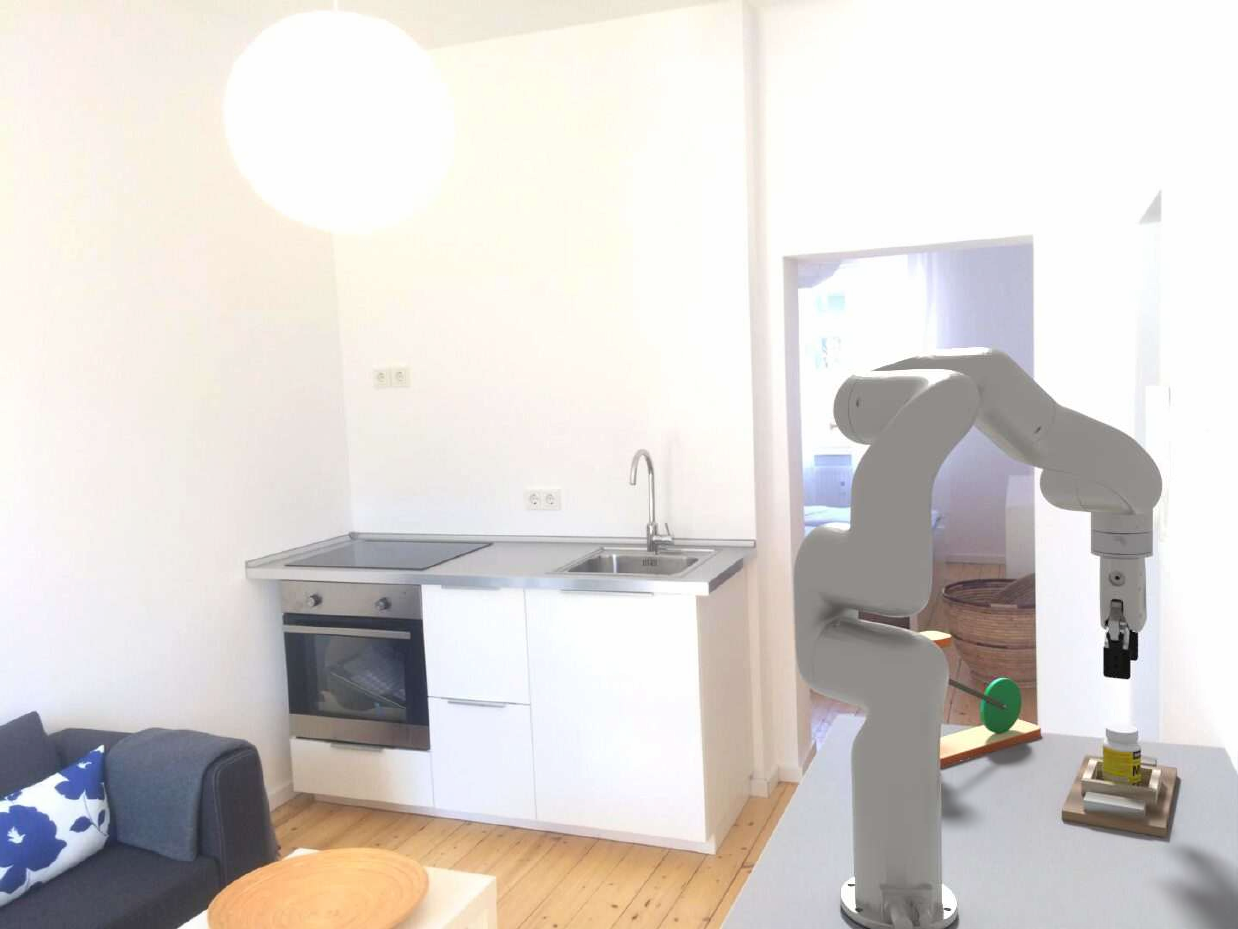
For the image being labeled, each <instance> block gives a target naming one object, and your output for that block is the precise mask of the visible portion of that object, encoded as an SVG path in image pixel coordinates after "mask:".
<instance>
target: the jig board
mask: <svg viewBox="0 0 1238 929" xmlns="http://www.w3.org/2000/svg"><path fill="white" fill-rule="evenodd" d="M1177 778H1178V767H1175V766H1174V767H1173V766H1168V765H1167V766H1166V765H1160V764H1158V757H1157V756H1152V755H1146V754H1145V755H1144V754H1141V786H1134V785H1128V784H1122V783H1115V782H1109V781H1103V751H1102V752H1101V754H1100V756H1098V755H1092V754H1085V756H1084V758H1083V760H1082V763H1081V765H1080V767H1079V769H1078V772H1077V774H1076V777H1075V779H1074V781H1073V783H1072V785H1071V788H1070V791H1069V793H1068V795H1067V796H1066V800H1065V802H1064V804H1063V807H1062V808H1061V820H1064V821H1071V822H1075V823H1082V824H1087V825H1092V826H1097V827H1102V828H1109V829H1115V830H1120V831H1121V830H1122V831H1126V832H1133V833H1137V834H1138V833H1139V834H1144V835H1148V834H1149V836H1154V837H1155V836H1156V837H1161V838H1165V837H1166V835H1167V834H1166V833H1167V829H1168V824H1169V818H1170V814H1171V808H1172V804H1173V798H1174V794H1175V787H1176V783H1177Z"/></svg>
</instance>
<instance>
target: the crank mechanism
mask: <svg viewBox="0 0 1238 929" xmlns="http://www.w3.org/2000/svg"><path fill="white" fill-rule="evenodd" d="M918 633H919V634H922V635H924V636H926V637H928V638H929V639H931V640H932V641H933V642H935V643H936V644H937V645H938V646H939V647H940V648H941V649H943V648H947V647H950V646H951V645H952V634H949V633H945V632H942V631H938V630H925V631H921V632H918ZM948 686H952V687H954V688H956V689H958V690H961V691H963V692H965V693H967V694H969V695H971V696H974V697H976V698H978V699H979V700H981V701H980V708H979V709H980V710H979V711H980V718H981V722H982V724H983V725H979V726H975V727H972V728H968V729H965V730H964V729H963V730H961V731H958V732H955V733H950V734H947V735H945V736H941V738H940V767H941V768H944V767H947V766H950V765H949V764H951V765H953V764H952V763H954V764H956V763H955V762H957V763H959V762H958V761H960V760H964V761H966V759H967V760H969V759H968V758H970V759H973V758H976V757H975V756H977V757H979V756H978V755H980V756H982V755H981V754H983V755H985V754H989V753H992V752H995V751H998V750H1002V749H1005V748H1009V747H1012V746H1016V745H1018V744H1022V743H1024V742H1028V741H1031V740H1034V739H1038V738H1041V737H1042V736H1041V735H1042V729H1041V727H1040V726H1039V725H1037V724H1034V723H1031V722H1028V721H1025V720H1023V719H1020V718H1019V717H1020V715H1021V714H1020V713H1021V709H1022V695H1021V690H1020V688H1019V686H1018V685H1017V683H1016V682H1015V681H1014V680H1012V679H1009V678H1005V677H1000V678H996V679H994V680H993V681H992V682H991V683H990V684H989V685H988V686H987V687H986V689H985V691H984V692H983V693H982V692H980V691H977V690H976V689H973V688H971V687H970V686H967V685H964V684H963V683H960V682H959V681H956V680H954V679H952V678H950V677H949V682H948ZM972 757H973V758H972ZM960 762H961V761H960ZM946 765H947V766H946ZM943 766H944V767H943Z"/></svg>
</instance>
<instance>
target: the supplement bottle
mask: <svg viewBox="0 0 1238 929" xmlns="http://www.w3.org/2000/svg"><path fill="white" fill-rule="evenodd" d="M1138 741H1139V729H1138V728H1137V727H1136V726H1133V725H1130V724H1126V723H1109V724H1107V725H1105V739H1104V740H1103V741H1102V752H1103V781H1109V782H1115V783H1122V784H1128V785H1134V786H1141V755H1142V746H1141V744H1140V742H1138Z"/></svg>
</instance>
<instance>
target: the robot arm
mask: <svg viewBox="0 0 1238 929" xmlns="http://www.w3.org/2000/svg"><path fill="white" fill-rule="evenodd" d="M832 410H833V418H834V422H835V424H836V426H837V428H838V430H839V431H840V432H841V434H842V435H843V436H844V437H845V438H846V439H848V440H850V441H851V442H853V443H856V444H859V445H865V446H866V445H867V446H869V447H868V448H867V450H866V451H865V452H864V453H863V455H862V457H861V458H860V460H859V462H858V464H857V466H856V468H855V471H854V473H853V477H852V481H851V482H852V483H851V486H850V487H851V488H850V514H849V515H850V516H849V517H850V518H849V519H850V520H849V521H850V522H849V523H845V522H827V523H823V524H820V525H818V526H816V527H814V529H812V530H811V531H809V533H807V535H806V536H805V538H803V540H802V542H801V543H800V546H799V549H798V551H797V553H796V556H795V562H794V565H793V608H794V610H793V611H794V612H793V613H794V638H795V639H794V640H795V642H794V643H795V656H796V657H795V658H796V663H797V667H798V668H797V669H798V671H799V674H800V676H801V679H802V680H803V682H804V683H805V685H807V687H809V688H810V690H812V691H813V692H815V693H817V694H820V695H822V696H825V697H828V698H829V699H830V698H831V699H833V700H837V701H840V702H842V703H847V704H849V705H852V706H855V707H857V708H860V709H863V710H865V712H866V717H865V720H864V722H863V724H862V726H861V727H860V729H859V730H858V732H857V733H856V735H855V737H854V739H853V741H852V745H851V751H850V767H851V768H850V769H851V770H850V771H851V798H852V799H851V800H852V801H851V802H852V804H851V805H852V807H851V808H852V844H853V846H852V848H853V849H852V850H853V877H852V878H850V879H849V880H847V881H846V882H845V883H844V884H843V885H842V887H841V889H840V895H839V896H840V905H841V908H842V910H843V911H844V913H845V914H846V915H847V916H848V917H849V918H850V919H852V920H853V921H855V923H858V924H860V925H861V926H863V927H865V928H868V929H946V928H947V927H949V926H950V925H951V924H953V923H954V921H956V919H957V917H958V913H959V912H958V900H957V897H956V896H955V894H954V893H953V892H952V890H950V889H949V888H948V887H947V886H946V885H944V884H943V844H942V843H943V842H942V839H943V838H942V836H943V835H942V792H941V791H942V785H941V782H942V781H941V780H942V779H941V778H942V777H941V768H940V738H941V737H942V736H941V733H942V723H943V715H944V708H945V704H946V698H947V693H948V687H949V684H948V682H949V678H950V668H949V663H948V659H947V657H946V655H945V653H944V651H943V649H942V648H940V647H939V646H938V645H937V644H936V643H935V642H933V641H932V640H931V639H929V638H928V637H926V636H924V635H922V634H919V633H920V632H918V631H917V632H916V631H914V630H911V629H908V628H903V627H899V626H895V625H890V624H885V623H880V622H873V621H868V620H865V619H860V618H859V612H863V613H868V614H872V615H879V616H883V617H890V618H907V617H913V616H914V615H917V614H919V613H921V612H922V611H923V610H924V609H925V608H926V606H927V605H928V603H929V600H930V598H931V595H932V594H931V593H932V586H933V535H932V533H933V532H932V531H933V529H932V528H933V526H932V525H933V524H932V521H933V520H932V506H933V505H932V504H933V503H932V502H933V492H934V491H933V490H934V486H935V481H936V478H937V476H938V473H939V471H940V470H941V468H942V466H943V464H944V463H945V461H946V460H947V458H948V457H949V455H950V454H951V453H952V452H953V450H954V449H955V448H956V447H957V446H958V444H959V443H960V442H961V441H962V440H963V439H965V437H966V436H967V435H968V433H969V432H970V431H971V429H972V428H973V427H974V428H975V429H977V430H978V431H979V432H980V433H982V435H984V436H985V437H986V438H987V439H988V440H989V441H991V442H992V443H993V444H994V445H995V446H996V447H998V449H1000V450H1001V451H1002V452H1003V453H1004V455H1006V456H1007V457H1009V458H1011V459H1012V460H1014V461H1017V462H1019V463H1022V464H1025V465H1028V466H1031V467H1034V468H1038V469H1040V470H1041V469H1042V471H1041V473H1040V478H1039V488H1040V492H1041V494H1042V496H1043V498H1044V499H1045V500H1046V501H1047V502H1048V503H1049V504H1050V505H1052V506H1054V507H1055V508H1058V509H1060V510H1061V509H1062V510H1066V511H1071V512H1072V511H1073V512H1081V513H1082V512H1083V513H1085V512H1086V513H1090V554H1091V555H1093V556H1097V557H1099V618H1100V620H1099V621H1100V627H1101V628H1102V629H1103V630H1105V632H1104V634H1105V635H1104V644H1103V645H1104V646H1103V647H1102V648H1103V649H1102V650H1103V651H1102V652H1103V653H1102V655H1103V658H1102V659H1103V660H1102V661H1103V664H1102V665H1103V667H1102V669H1103V671H1102V674H1103V676H1104V677H1105V678H1108V679H1109V678H1110V679H1111V678H1112V679H1121V680H1130V678H1131V674H1132V673H1131V671H1132V669H1131V668H1132V667H1131V661H1134V662H1136V661H1138V659H1139V633H1140V632H1142V631H1143V629H1144V627H1145V625H1146V622H1147V620H1148V619H1147V618H1148V614H1147V613H1148V611H1147V610H1148V609H1147V572H1146V571H1147V570H1146V568H1147V567H1146V558H1147V559H1148V558H1150V557H1152V556H1154V555H1153V554H1154V543H1153V542H1154V508H1155V507H1156V506H1157V504H1159V501H1160V500H1161V497H1162V493H1163V479H1162V475H1161V471H1160V469H1159V466H1158V465H1157V463H1156V462H1155V460H1154V459H1153V457H1152V456H1151V455H1150V453H1148V451H1146V449H1144V448H1143V447H1142V444H1140V443H1139V442H1138V441H1136V439H1134V438H1133V437H1132V436H1130V435H1129V434H1127V433H1126V432H1124V431H1122V430H1121V429H1118V428H1116V427H1114V426H1112V425H1109V424H1107V423H1105V422H1102V421H1100V420H1098V419H1095V418H1093V417H1091V416H1088V415H1086V414H1083V413H1082V412H1079V411H1076V410H1074V409H1072V408H1068V407H1065V406H1063V405H1061V404H1059V403H1058V402H1057V401H1056V400H1055V399H1054V398H1053V397H1052V396H1051V395H1050V394H1049V393H1047V391H1046V390H1045V389H1044V388H1042V386H1040V385H1039V383H1037V381H1035V380H1034V379H1033V377H1031V375H1029V374H1028V373H1027V372H1026V370H1024V369H1023V368H1022V367H1021V365H1019V363H1017V362H1016V361H1015V360H1014V359H1013V358H1012V357H1011V356H1009V355H1008V354H1007V353H1005V352H1004V351H1002V350H999V349H996V348H990V347H966V348H965V347H964V348H950V349H932V350H925V351H920V352H917V353H915V354H910V355H908V356H903V357H901V358H898V359H896V360H891V361H889V362H886V363H883V364H880V365H877V366H873V367H869V368H867V369H864V370H860V371H857V372H855V373H854V374H852V375H851V376H849V377H848V378H847V379H845V381H844V382H843V383H842V384H841V385H840V387H839V388H838V390H837V391H836V393H835V397H834V401H833V408H832Z"/></svg>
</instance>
